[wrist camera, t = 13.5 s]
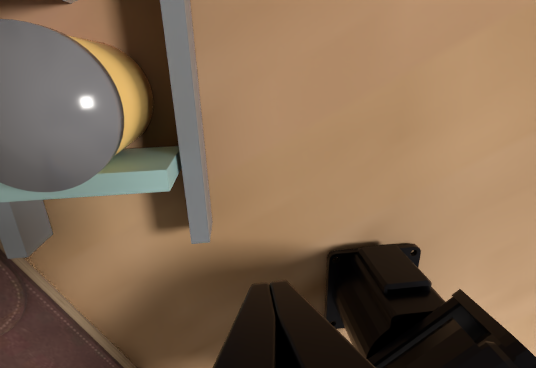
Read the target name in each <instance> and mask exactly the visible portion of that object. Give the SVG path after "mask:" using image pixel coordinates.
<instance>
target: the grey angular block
mask: <svg viewBox="0 0 536 368" xmlns="http://www.w3.org/2000/svg"><path fill="white" fill-rule="evenodd" d="M63 1H66V2H68V3H71V4H72V3H74V2H75V1H77V0H63Z"/></svg>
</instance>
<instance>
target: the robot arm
mask: <svg viewBox="0 0 536 368" xmlns="http://www.w3.org/2000/svg"><path fill="white" fill-rule="evenodd" d="M412 250H414V251H413V252H412V253H411V251H412ZM420 253H421V250H420V248H419V247H418V246H416V245H415V244H403V245H395V244H392V245H380V246H369V247H361V248H357V249H346V250H335V251H331V252H330V253H329V254H328V256H327V275H326V298H325V318H324V317H323V316H322V315H321V314H320V313H319V312H318V311H317V310H316V309H315V308H314V307H313V306H312V305H311V304H310V303H309V302H308V301H307V300H306V299H305V298H304V297H303V296H302V295H301V294H300V293H299V292H298V291H297V290H296V289H295V288H294V287H293V286H292V285H291V284H290V283H288V282H287V281H286V280H282V281H274V282H271V283H270V285H269V284H268V283H267V282H265V283H256V284H252V285H251V287H250V289H249V291H248V294H247V296H246V298H245V300H244V302H243V304H242V306H241V308H240V311H239V313H238V315H237V317H236V319H235V321H234V323H233V325H232V328H231V330H230V332H229V334H228V336H227V338H226V340H225V342H224V345H223V347H222V349H221V351H220V353H219V355H218V357H217V360H216V362H215V364H214V366H213V368H536V357H535V356H534V355H533V354H532V353H531V352H530V351H529V350H528V349H527V348H526V347H525V346H524V345H523V344H521V343H520V342H519V341H518V340H517V339H516V338H515V337H514V336H513V335H512V334H511V333H510V332H508V331H507V330H506V329H505V328H504V327H503V326H502V325H500V324H499V323H498V322H497V321H496V320H495V319H494V318H492V317H491V316H490V315H489V314H488V313H487V312H486V311H484V310H483V309H482V308H481V307H480V306H479V305H478V304H477V303H475V302H474V301H473V300H472V299H471V298H470V297H469V296H467V295H466V294H465V293H464V292H463V291H462V290H461V289H459V290H458V291H457V292H455V293H454V294H453V295H452V296H453V297H452V298H451V299H449V300H448V301H446V302H445V301H444V300H443V299H442V298H441V297H440V296H439V294H438V293H437V292H436V291H435V290H434V289H433V288H432V287H431V284H432V283H431V281H430V280H429V279H428V278H427V277H426V276H425V275H424V274H423V273H422V272H421V271H420V270H419V269H418V265H419V259H420ZM334 257H338V258H337V259H336V260H333V258H334ZM332 321H333V322H332ZM330 322H331V323H330ZM339 328H345V329H346V331H347V333H348V336H349V338H350V340H351V342H352V344H351V343H350V342H349V341H348V340H347V339H346V338H345V337H344V336H343V335H342V334H341V333H340V332H339V331H338V330H337V329H339Z"/></svg>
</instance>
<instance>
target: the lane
mask: <svg viewBox="0 0 536 368" xmlns="http://www.w3.org/2000/svg"><path fill="white" fill-rule="evenodd" d="M160 4H161V12H162V20H163V27H164V35H165V43H166V50H167V58H168V66H169V74H170V81H171V89H172V97H173V104H174V112H175V120H176V127H177V135H178V143H179V151H180V158H181V166H182V174H183V181H184V189H185V197H186V204H187V212H188V220H189V227H190V235H191V243H192V244H196V243H208V242H210V237H211V229H212V214H211V204H210V194H209V184H208V174H207V164H206V154H205V144H204V134H203V124H202V114H201V104H200V94H199V84H198V74H197V65H196V55H195V45H194V35H193V25H192V15H191V5H190V0H160ZM52 234H53V232H52V229H51V226H50V222H49V219H48V216H47V212H46V209H45V206H44V202H43V200H29V201H14V202H0V240H1V242H2V245H3V248H4V250H5V253H6V256H7V258H8V259H13V258H25V257H29V256H30V255H31V254H32V253H33V252H34V251H35V250H36V249H37V248H38V247H40V246H41V245H42V244H43V243H44V242H45V241H46V240H47V239H48V238H49V237H50V236H51V235H52Z"/></svg>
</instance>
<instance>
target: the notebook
mask: <svg viewBox="0 0 536 368" xmlns="http://www.w3.org/2000/svg"><path fill="white" fill-rule="evenodd" d="M0 368H137V367H136V366H135V365H134V364H133V363H132V362H130V361H129V360H128V359H127V358H126V357H125V356H124V355H123V354H122V353H121V352H120V351H119V350H118V349H117V348H116V347H115V346H114V345H113V344H112V343H111V342H110V341H109V340H108V339H107V338H106V337H105V336H104V335H103V334H102V333H101V332H100V331H99V330H98V329H97V328H96V327H94V326H93V325H92V324H91V323H90V322H89V321H88V320H87V319H86V318H85V317H84V316H83V315H82V314H81V313H80V312H79V311H78V310H77V309H76V308H75V307H74V306H73V305H72V304H71V303H70V302H69V301H68V300H67V299H66V298H65V297H64V296H63V295H62V294H61V293H60V292H58V291H57V290H56V289H55V288H54V287H53V286H52V285H51V284H50V283H49V282H48V281H47V280H46V279H45V278H44V277H43V276H42V275H41V274H40V273H39V272H38V271H37V270H36V269H35V268H34V267H33V266H32V265H31V264H30V263H29V262H28V261H27V260H26V259H25V258H13V259H8V258H7V256H6V253H5V250H4V248H3V245H2V242H1V240H0Z"/></svg>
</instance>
